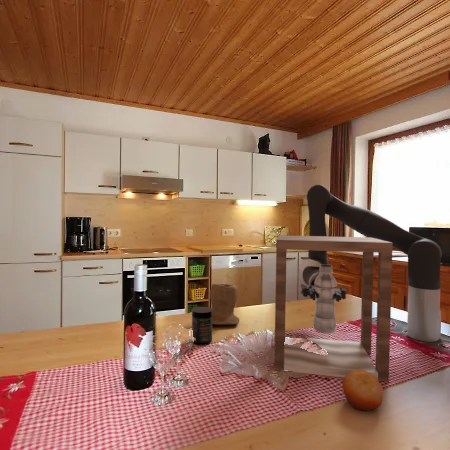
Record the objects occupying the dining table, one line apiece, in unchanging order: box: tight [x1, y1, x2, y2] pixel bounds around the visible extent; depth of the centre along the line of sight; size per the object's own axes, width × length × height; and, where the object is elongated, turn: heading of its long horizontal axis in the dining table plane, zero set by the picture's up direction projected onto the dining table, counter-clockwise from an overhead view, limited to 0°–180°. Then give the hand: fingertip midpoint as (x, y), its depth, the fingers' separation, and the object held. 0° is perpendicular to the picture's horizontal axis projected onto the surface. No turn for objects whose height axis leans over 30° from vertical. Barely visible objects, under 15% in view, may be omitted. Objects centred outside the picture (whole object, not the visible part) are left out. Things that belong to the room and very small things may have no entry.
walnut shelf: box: [273, 234, 393, 383], centre depth 92 cm, size 20×28×34 cm
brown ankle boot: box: [209, 283, 240, 326], centre depth 122 cm, size 15×12×15 cm
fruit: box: [342, 370, 384, 411], centre depth 70 cm, size 8×8×8 cm
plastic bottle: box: [312, 263, 338, 335], centre depth 95 cm, size 6×7×20 cm
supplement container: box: [191, 306, 213, 346], centre depth 103 cm, size 7×7×10 cm
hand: (326, 297), depth 92 cm, fingers closed on plastic bottle, 6 cm apart
